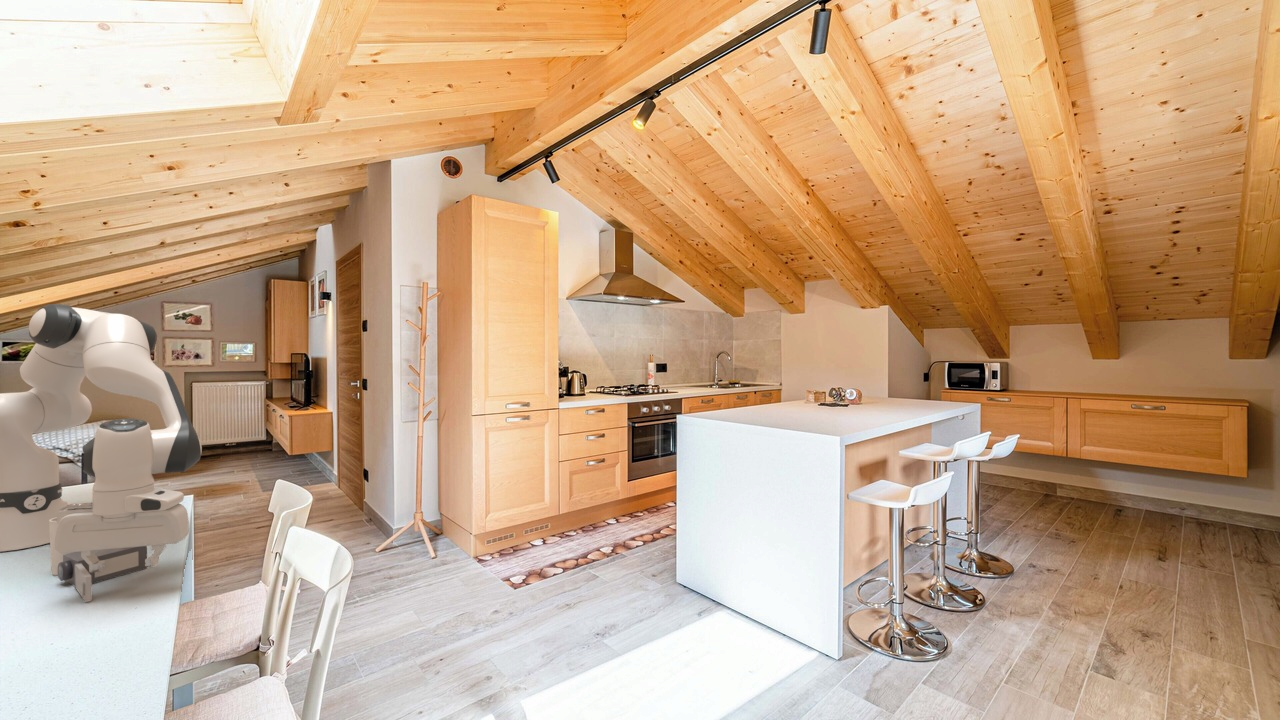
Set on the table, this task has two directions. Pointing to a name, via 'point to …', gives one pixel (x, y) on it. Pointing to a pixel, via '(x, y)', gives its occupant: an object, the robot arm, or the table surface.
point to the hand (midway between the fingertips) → (124, 568)
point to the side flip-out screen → (83, 582)
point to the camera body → (105, 563)
